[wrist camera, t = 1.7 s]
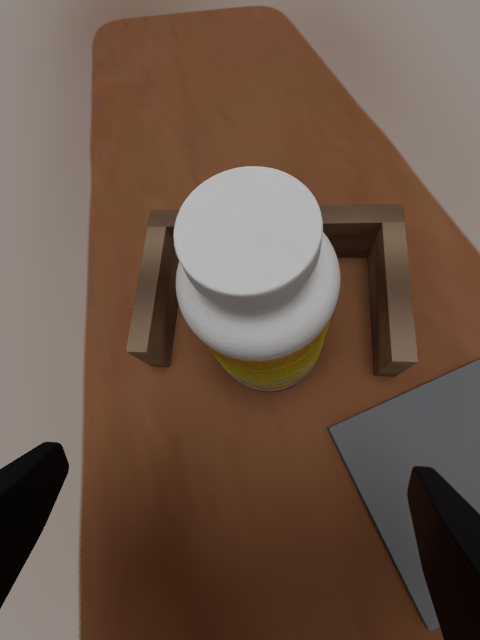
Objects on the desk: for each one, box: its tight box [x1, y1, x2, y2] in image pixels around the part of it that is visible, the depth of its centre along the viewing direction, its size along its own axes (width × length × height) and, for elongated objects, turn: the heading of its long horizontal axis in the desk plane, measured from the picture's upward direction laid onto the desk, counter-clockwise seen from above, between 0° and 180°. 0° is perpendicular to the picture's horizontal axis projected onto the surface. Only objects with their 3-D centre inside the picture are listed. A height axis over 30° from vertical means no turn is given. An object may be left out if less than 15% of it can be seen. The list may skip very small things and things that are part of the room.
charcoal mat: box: [328, 359, 480, 631], centre depth 19 cm, size 10×10×1 cm
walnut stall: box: [126, 204, 418, 376], centre depth 22 cm, size 9×15×4 cm, turn 86°
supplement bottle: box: [173, 166, 340, 391], centre depth 17 cm, size 7×7×13 cm
